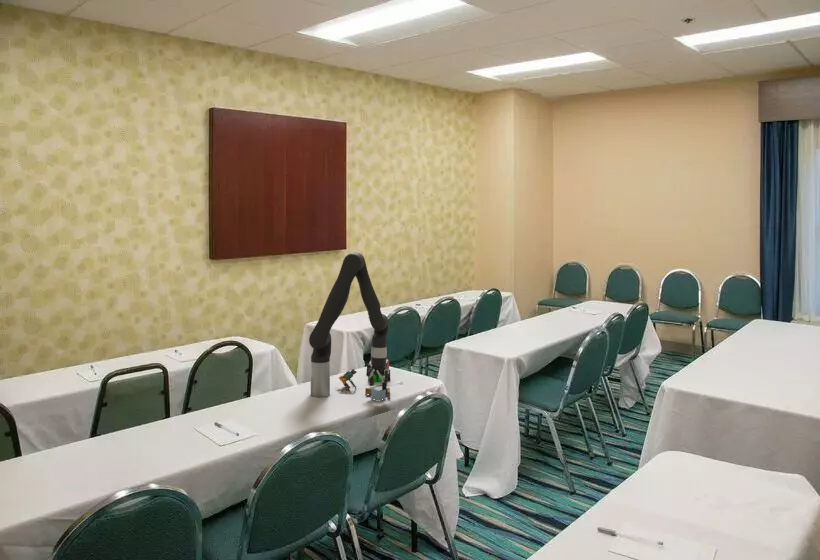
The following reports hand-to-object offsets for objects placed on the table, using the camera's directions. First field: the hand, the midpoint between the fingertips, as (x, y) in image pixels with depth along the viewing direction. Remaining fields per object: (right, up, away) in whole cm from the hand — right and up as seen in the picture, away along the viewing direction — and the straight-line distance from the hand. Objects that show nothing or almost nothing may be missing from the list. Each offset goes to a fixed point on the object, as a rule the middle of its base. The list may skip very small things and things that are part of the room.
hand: (377, 387), depth 313 cm
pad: (0, -6, +1) cm, 6 cm away
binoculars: (-16, -4, +17) cm, 24 cm away
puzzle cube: (-1, -2, +34) cm, 34 cm away
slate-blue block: (0, -5, +1) cm, 6 cm away
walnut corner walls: (0, -5, +4) cm, 7 cm away
